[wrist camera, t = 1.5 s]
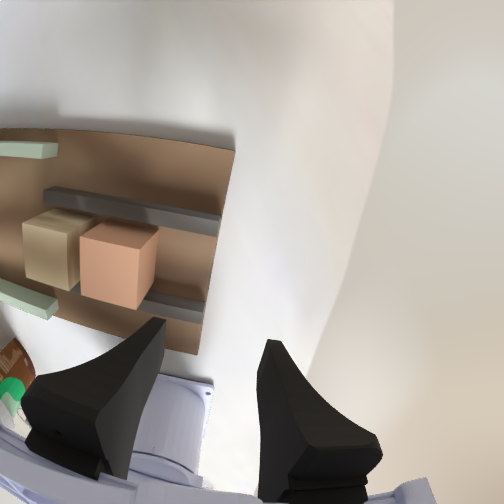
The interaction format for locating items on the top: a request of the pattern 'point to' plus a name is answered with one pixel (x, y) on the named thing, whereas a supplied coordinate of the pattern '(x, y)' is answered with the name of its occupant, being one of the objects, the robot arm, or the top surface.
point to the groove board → (123, 219)
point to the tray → (8, 290)
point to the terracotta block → (118, 262)
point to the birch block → (55, 247)
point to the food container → (13, 380)
